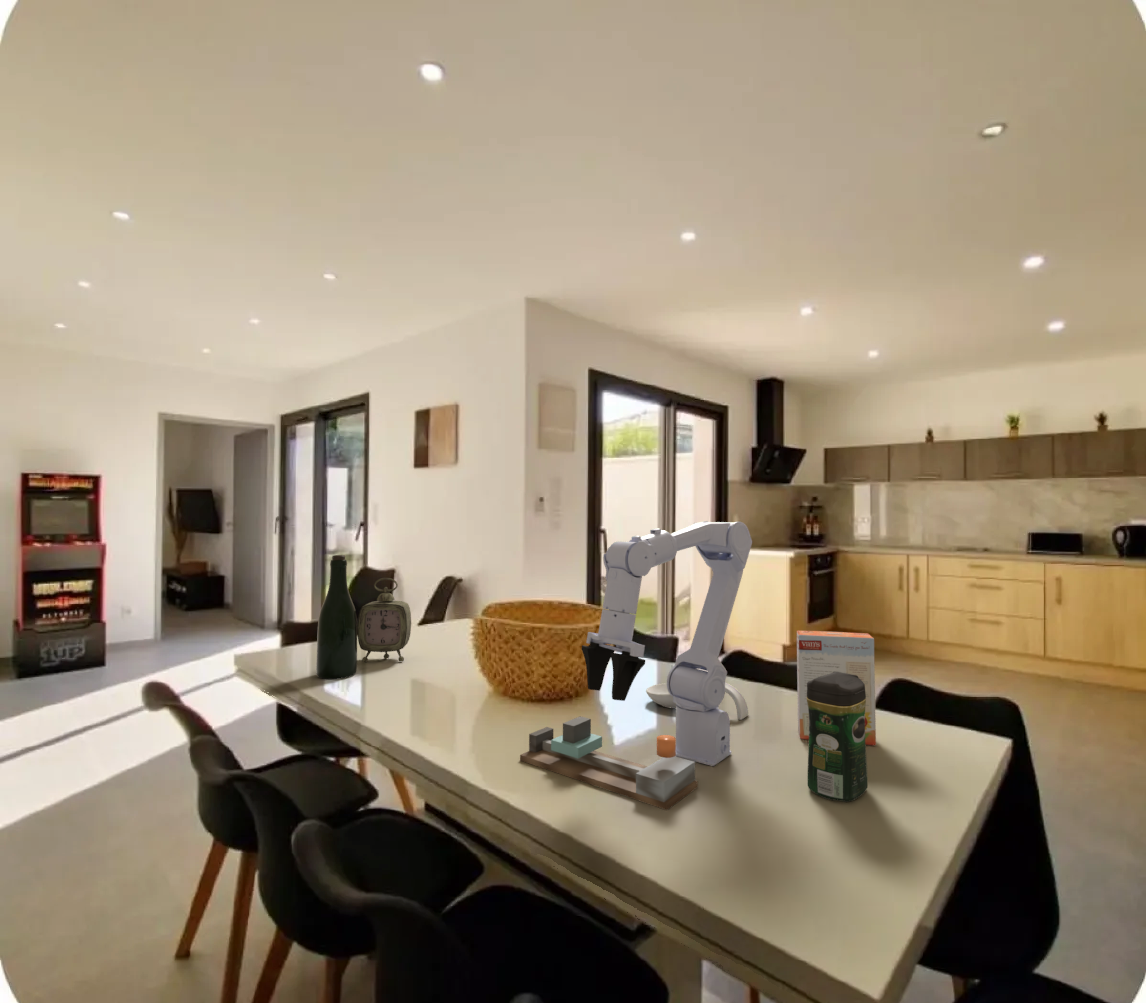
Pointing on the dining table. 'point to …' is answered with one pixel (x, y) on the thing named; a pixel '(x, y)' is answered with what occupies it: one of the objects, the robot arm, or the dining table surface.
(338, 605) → the green wine bottle
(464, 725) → the dining table surface
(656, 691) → the spoon rest
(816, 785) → the coffee jar
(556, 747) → the carriage
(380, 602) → the tabletop clock
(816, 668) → the cracker box
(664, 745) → the button
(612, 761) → the rail board
